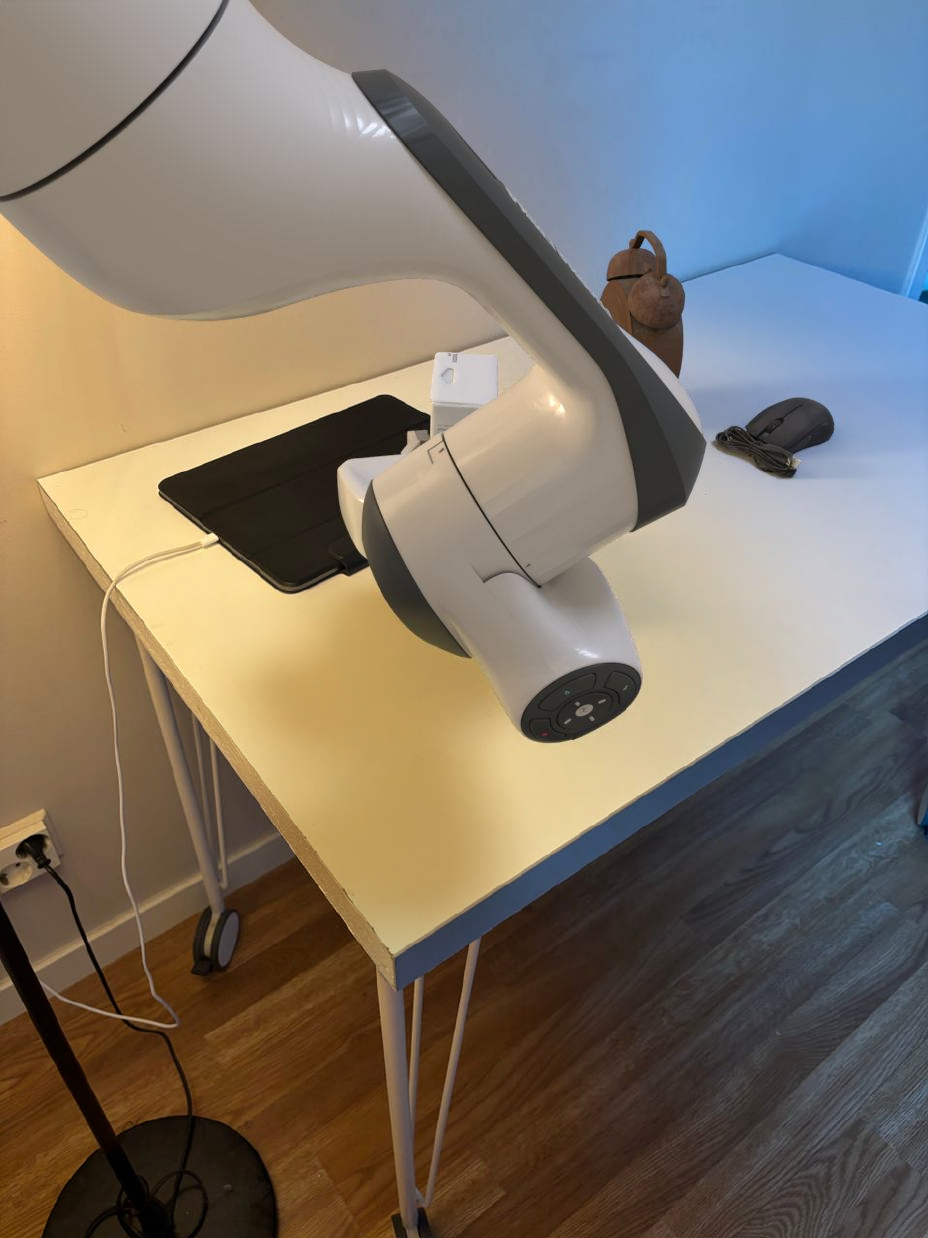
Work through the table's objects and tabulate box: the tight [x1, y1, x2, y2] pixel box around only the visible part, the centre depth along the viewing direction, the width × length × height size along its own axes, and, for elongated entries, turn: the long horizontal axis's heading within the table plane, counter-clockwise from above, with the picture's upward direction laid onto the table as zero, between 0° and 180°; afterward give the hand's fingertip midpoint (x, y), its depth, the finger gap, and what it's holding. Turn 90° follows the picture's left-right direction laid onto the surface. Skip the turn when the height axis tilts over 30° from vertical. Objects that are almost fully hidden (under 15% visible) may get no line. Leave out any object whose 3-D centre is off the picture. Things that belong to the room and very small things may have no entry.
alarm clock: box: [599, 229, 686, 380], centre depth 105 cm, size 14×7×20 cm, turn 9°
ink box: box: [429, 351, 499, 439], centre depth 72 cm, size 8×5×12 cm, turn 179°
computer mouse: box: [715, 396, 835, 477], centre depth 106 cm, size 10×15×4 cm
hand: (460, 434), depth 73 cm, fingers closed on ink box, 5 cm apart
